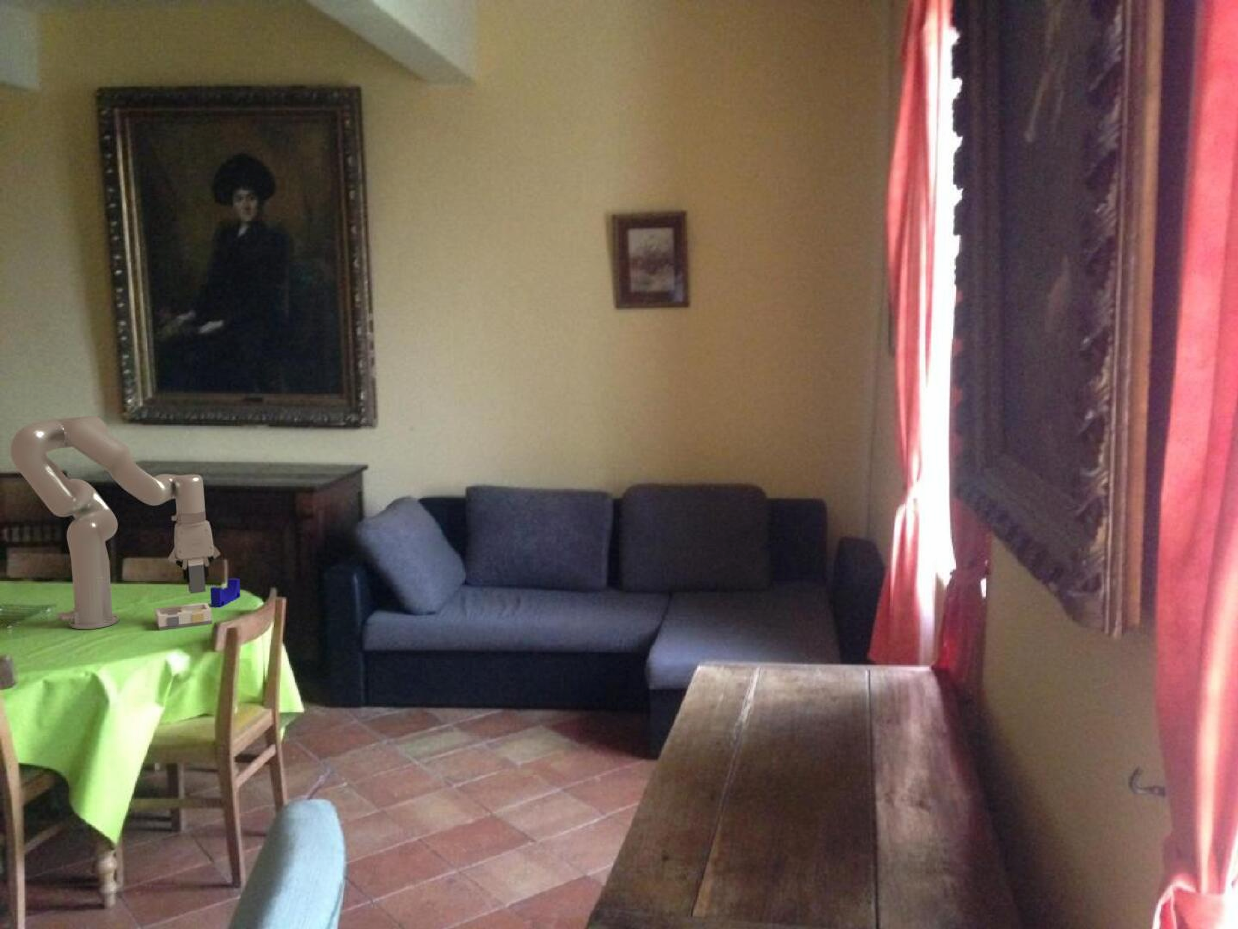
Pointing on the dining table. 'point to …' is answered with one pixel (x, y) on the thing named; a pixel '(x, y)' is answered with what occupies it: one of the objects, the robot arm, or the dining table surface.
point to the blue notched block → (225, 593)
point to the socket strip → (183, 616)
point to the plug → (196, 575)
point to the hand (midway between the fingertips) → (196, 580)
